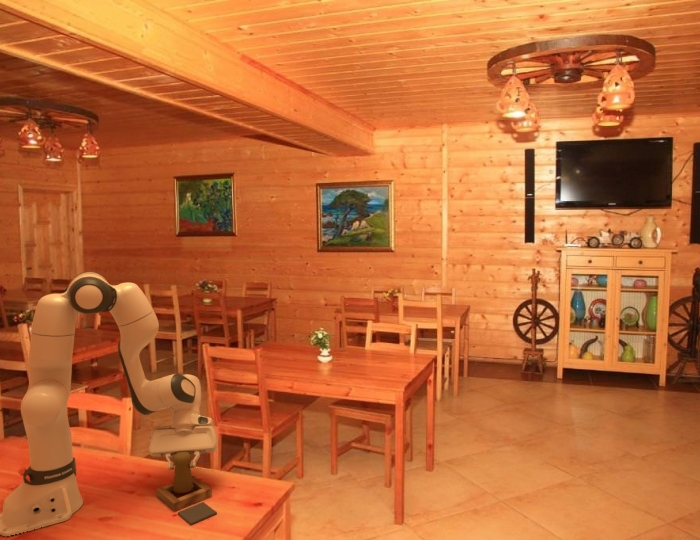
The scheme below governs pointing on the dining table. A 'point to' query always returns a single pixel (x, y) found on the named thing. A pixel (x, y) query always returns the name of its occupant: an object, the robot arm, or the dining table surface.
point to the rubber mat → (197, 513)
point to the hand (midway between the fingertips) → (182, 468)
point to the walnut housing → (179, 503)
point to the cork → (182, 473)
